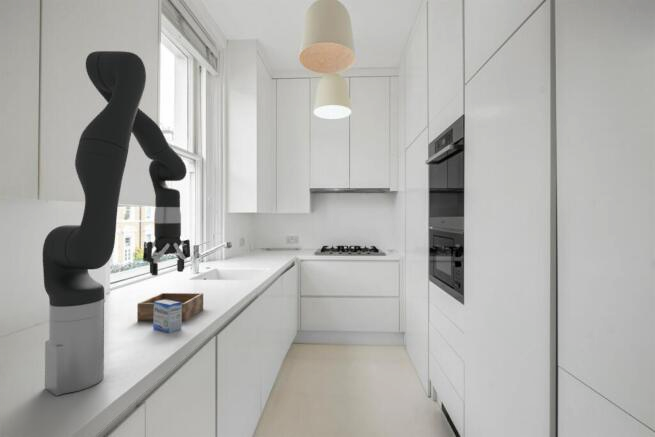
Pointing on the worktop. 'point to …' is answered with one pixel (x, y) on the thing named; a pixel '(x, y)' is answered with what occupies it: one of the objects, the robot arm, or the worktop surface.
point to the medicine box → (167, 315)
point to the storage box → (189, 300)
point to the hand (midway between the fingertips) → (167, 273)
